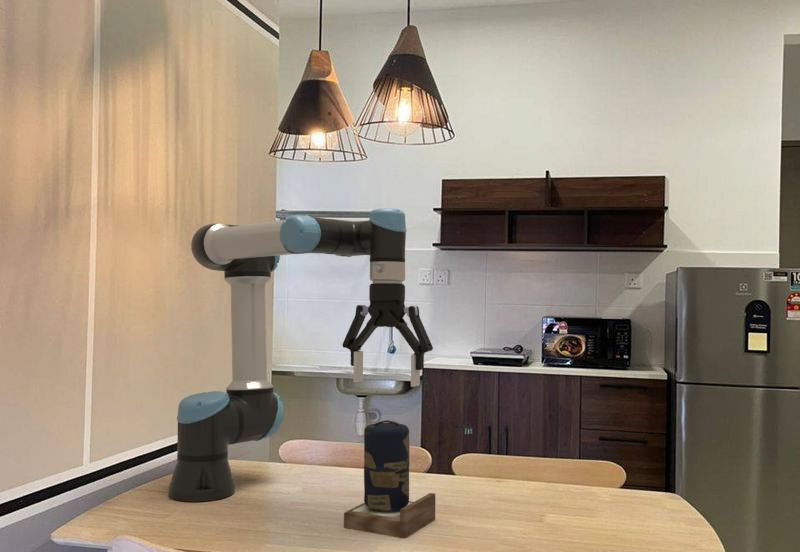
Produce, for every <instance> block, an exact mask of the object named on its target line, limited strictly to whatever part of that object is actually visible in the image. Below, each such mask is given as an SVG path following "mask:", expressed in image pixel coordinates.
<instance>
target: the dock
mask: <svg viewBox="0 0 800 552" xmlns="http://www.w3.org/2000/svg"><path fill="white" fill-rule="evenodd" d="M435 520H436V493H435V492H434V493H433V492H429V493H427V494H426V495H424V496H422V497H420V498H417V499H416V500H415V501H410V500H409V503H408V505H407V506H405V507H404V508H402V509H398V510H391V511H382V510H375V509H371V508H369V507H367V506H366V505H365V503H364V502H362V503H361V504H358V505H357V506H355V507H352V508H351V509H348V510H347V511H345V512H343V528H344V529H351V530H354V531H355V530H356V531H361V532H368V533H373V534H380V535H385V536H390V537H397V538H402V539H407V538H408V537H410V536H412V535H413V534H415V533H416V532H418V531H419V530H420V529H422V528H424V527H426V526H427V525H429V524H430V523H432V522H433V521H435Z"/></svg>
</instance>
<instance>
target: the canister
mask: <svg viewBox="0 0 800 552" xmlns="http://www.w3.org/2000/svg"><path fill="white" fill-rule="evenodd" d="M363 430H364V431H363V432H364V433H363V435H364V437H363V439H364V440H363V443H364V444H363V448H364V449H363V455H364V456H363V461H364V463H363V485H364V486H363V487H364V491H363V492H364V497H363V503H365V505H366V506H367V507H369V508H371V509H375V510H382V511H391V510H398V509H402V508H404V507H405V506H407V505H408V503H409V501H410V428H409V427H408V426H407V425H406V424H402V423H399V422H397V421H393V420H388V419H387V420H386V419H385V420H382V421H381V420H379V421H378V422H375V423H370V424H369V425H366V426H365V428H364V429H363Z"/></svg>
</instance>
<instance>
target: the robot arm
mask: <svg viewBox="0 0 800 552" xmlns="http://www.w3.org/2000/svg"><path fill="white" fill-rule="evenodd" d="M369 213H370V217H369V219H368V220H360V221H359V220H358V221H357V220H355V221H353V220H343V219H334V218H333V219H332V218H324V217H316V216H309V215H307V214H299V215H296V214H294V215H293V214H292V215H289V216H287V218H285V219H282V220H273V221H265V222H257V223H250V224H249V223H248V224H243V225H242V224H241V225H238V224H237V225H235V224H227V223H226V224H224V223H210V224H207V225H206V224H205V225H204V226H201V227H200V228H199V229H197V231H196V232H195V233H194V234H193V237H192V239H191V243H190V246H191V247H190V248H191V252H192V256H193V258H194V259H195V261H196V262H197V263H198V264H199V265H201V266H202V267H203V268H206V269H207V270H212V271H218V272H223V273H224V277H223V278H224V281H225V282H226V283H228V285H229V286H230V311H231V312H230V318H231V319H230V321H231V324H230V325H231V368H232V370H231V373H232V375H231V376H232V377H231V378H232V380H231V382H230V383H229V384H228V386H227V387H226V391H222V390H219V391H217V390H216V391H215V390H213V391H208V392H206V391H204V392H199V393H195V394H191V395H188V396H186V397H183V399H181V401H180V402H179V403H178V406H177V407H178V408H177V409H178V410H177V417H176V420H177V446H176V447H177V449H176V450H177V456H176V464H175V466H174V467H175V468H174V470H173V473H172V477H171V481H170V483H169V485H168V496H169V498H171V499H172V500H176V501H182V502H192V503H195V502H210V501H215V500H220V499H226V498H228V497H230V496H232V495H233V494H235V492H236V484H235V483H236V482H235V479H234V478H233V474H232V470H231V466H230V463H229V458H228V457H229V454H228V453H229V451H228V449H229V445H230V446H231V445H235V444H241V443H247V442H253V441H254V442H258V441H261V440H263V439H268V438H271V437H272V436H274V435H275V434H276V433H277V431H278V430H279V429H280V428H281V426H282V423H283V419H284V412H285V411H284V403H283V401H281V397H280V395H279V394H277V393H276V392H274V385H273V384H272V383H271V382H270V381H269V380H268V370H267V368H268V366H267V363H268V361H267V360H268V359H267V357H268V356H267V322H266V321H267V318H266V317H267V314H266V313H267V312H266V310H267V309H266V284H267V283H268V282H269V281H270V280H271V279H272V276H271V275H272V274H271V273H272V272H273V271H275V270H276V268H277V267H278V264H279V263H280V260H281V258H280V257H281V256H288V255H303V254H305V255H306V254H324V255H334V256H336V257H347V258H350V257H357V256H358V257H359V256H360V257H361V256H369V280H370V281H372V283H370V284H369V288H368V289H369V295H368V296H369V297H368V299H369V305H366V304H358V305H356V307H355V315H354V317H353V320H352V321H351V324H350V326H349V329H348V331H347V333H346V335H345V338H344V341H343V342H342V347H343V348H345V349H347V350H349V352H350V366H351V367H353V379H352V380H353V383H362V382H364V350H362V347H363V346H364V345H365V343H366V342H367V341H368V339H369V338H370V336H371V335H372V334H373V333H374V331H375V330H376V329H377V328H386V327H387V328H395V330H398V332H399V333H400V335H401V336H402V337H403V338H404V340H405V342H407V344H408V346H409V347H410V348H411V349H412V351H413V352H414V353H413V354H411V355H410V387H411V388H414V387H419V386H420V384H421V371H422V370H424V367H425V364H424V363H425V359H424V358H425V354H426V353H428V352H431V351H433V350H434V347H433V344H432V342H431V340H430V337H429V335H428V333H427V330H426V328H425V326H424V323H423V322H422V319H421V316H420V309H419V308H420V307H419V306H418V305H410V306H407V307H406V305H405V301H406V285H405V284H404V283H403V282H404V281H406V240H407V239H406V238H407V237H406V235H407V226H406V214H405V212H404V210H401V209H397V208H375V209H372V210H371V211H370V212H369ZM368 315H370V318H369V320H368V321H367V322H366V323H365V324H366V325H365V327H364V328H363V329H362V330H361V328H362V326H363V325H364V321H365V319H366V316H368ZM405 315H407V317H408V318H409V321H410V324H411V326H412V328H413V330H414V333H415V334H416V335H415V334H414V333H413V331H412V330H411V329H410V327H409V325H408V323H407V322H406V320H405V319H404V316H405ZM360 330H361V331H360ZM359 332H360V333H359Z"/></svg>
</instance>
